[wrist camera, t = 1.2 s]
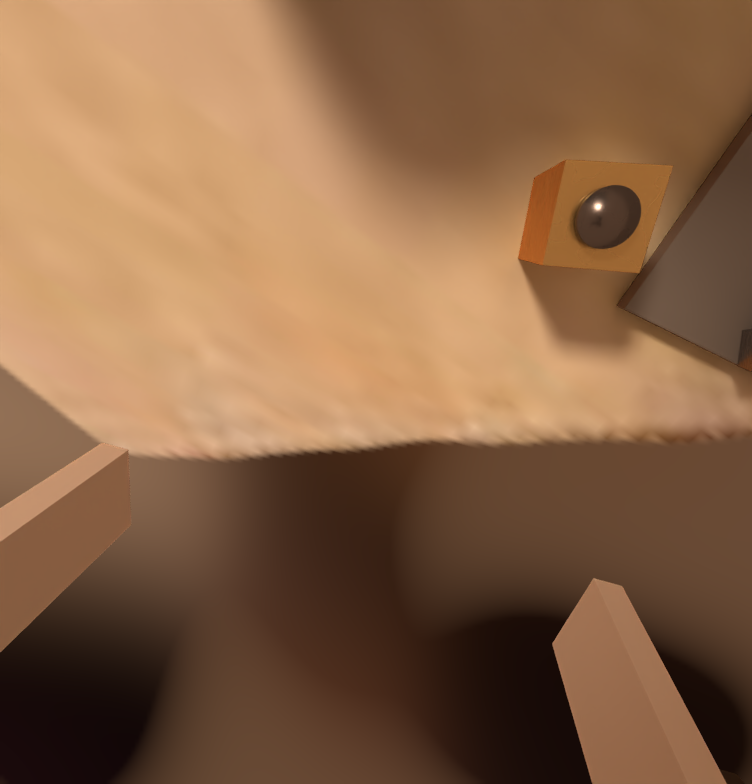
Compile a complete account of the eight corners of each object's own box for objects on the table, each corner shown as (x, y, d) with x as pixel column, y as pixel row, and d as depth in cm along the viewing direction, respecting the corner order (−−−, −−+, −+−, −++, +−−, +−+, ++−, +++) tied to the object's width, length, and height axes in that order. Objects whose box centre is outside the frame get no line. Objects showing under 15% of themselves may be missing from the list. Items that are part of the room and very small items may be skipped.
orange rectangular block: (533, 177, 24) (569, 157, 18) (614, 182, 24) (680, 163, 18) (517, 258, 26) (545, 266, 20) (592, 264, 26) (645, 274, 19)
